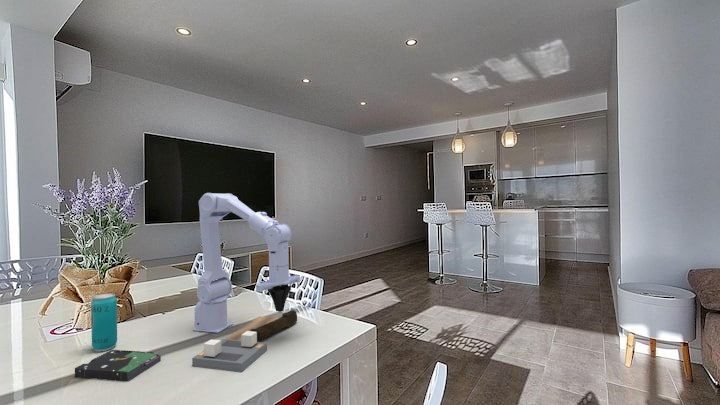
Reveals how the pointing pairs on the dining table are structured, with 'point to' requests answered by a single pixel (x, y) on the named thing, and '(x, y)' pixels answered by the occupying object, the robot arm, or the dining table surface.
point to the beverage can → (104, 322)
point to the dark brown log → (276, 325)
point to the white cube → (212, 348)
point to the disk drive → (118, 365)
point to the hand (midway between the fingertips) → (279, 310)
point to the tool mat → (251, 326)
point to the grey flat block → (231, 356)
